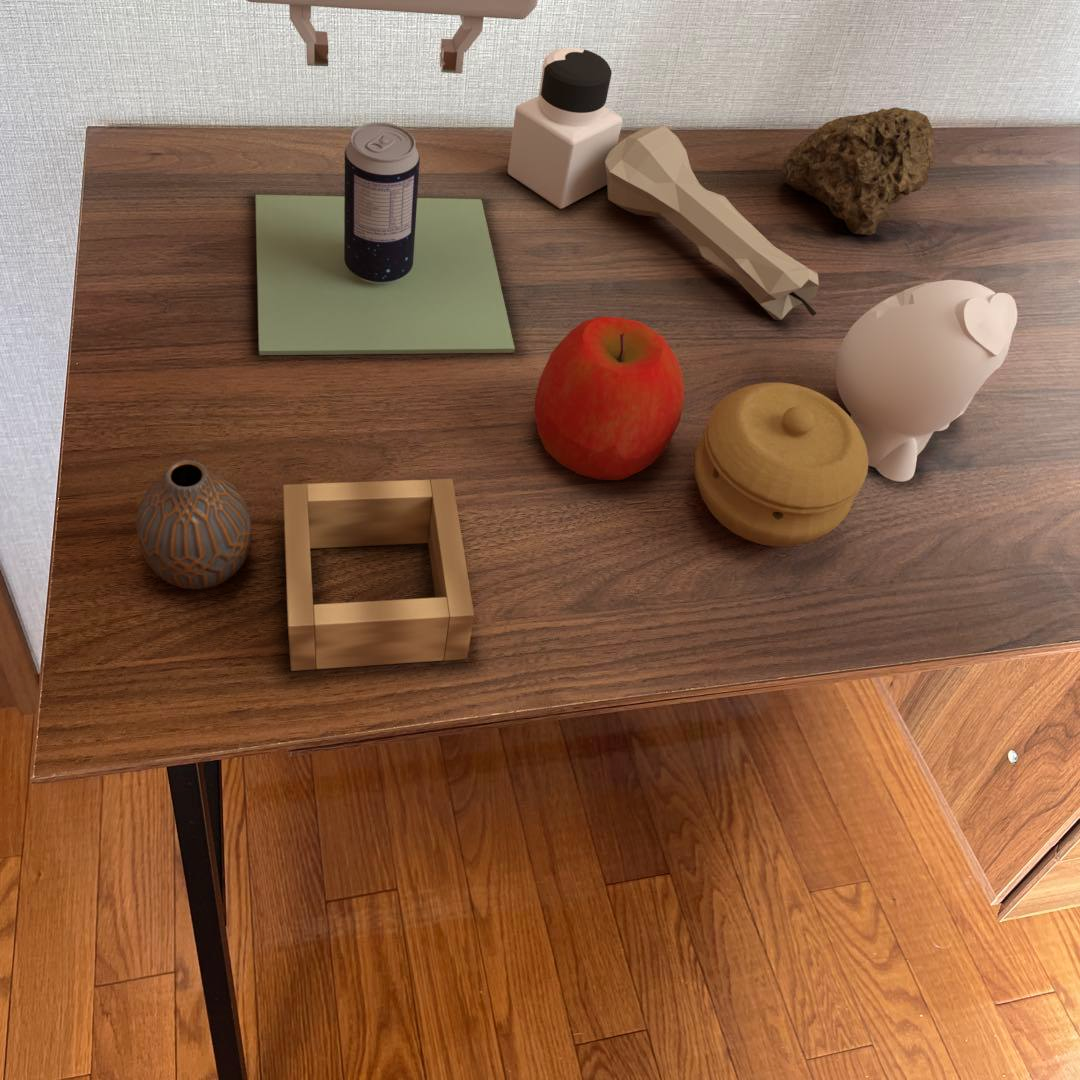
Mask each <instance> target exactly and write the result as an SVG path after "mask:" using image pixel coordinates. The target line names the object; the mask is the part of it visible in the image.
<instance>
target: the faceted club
mask: <svg viewBox="0 0 1080 1080" xmlns="http://www.w3.org/2000/svg"><path fill="white" fill-rule="evenodd" d="M605 166H606V172H607V184H608V185H607V200H608V201H609V202H611V203H613V204H614V205H616V206H617V207H619V208H621V209H622V210H625V211H627V212H629V213H631V214H634V215H636V216H647V217H658V218H664V219H665V220H667V221H668V222H669V223H670V224H671V225H672V226H674V227H675V228H676V229H677V230H678V231H680V232H681V233H682V234H683V235H684V236H685V237H686V238H688V239H689V240H690V241H691V242H692V243H693V244H695V245H696V246H697V248H698V251H699V253H700V255H701V257H702V258H704V259H705V260H707V262H710V263H711V264H712V265H714V266H715V267H717V268H719V269H720V270H721V271H723V272H725V273H726V274H727V275H729V276H731V277H732V278H733V279H735V280H736V281H737V282H738V283H739V284H740V286H742V287H743V288H744V289H745V291H747V292H748V293H749V295H751V297H752V298H753V299H754V300H755V301H756V302H757V303H758V304H759V305H760V306H761V307H762V309H764V310H765V311H766V313H767V314H768V315H769V316H770V317H771V318H772V319H773V320H777V321H778V320H779V321H780V320H783V319H784V318H785V316H786V315H788V314H789V312H790V311H791V310H793V308H795V307H797V306H799V305H801V304H803V306H804V307H805V308H806V310H807V311H808V312H809V314H810V315H811V316H812V317H814V316H815V315H817V312H816V311H815V309H814V308H813V307H811V306H810V304H808V303H807V302H808V301H810V300H812V299H815V298H816V296H817V293H818V290H819V286H820V283H819V274H818V272H816V271H815V270H812V269H810V268H808V267H807V266H805V265H804V264H802V263H800V261H798V260H796V259H795V258H793V257H791V256H790V255H788V254H787V253H785V252H784V251H783V250H780V249H779V248H777V247H776V246H775V245H773V244H772V243H771V242H770V240H768V239H767V237H765V236H764V235H763V234H762V233H761V232H760V231H759V230H758V229H757V228H756V227H754V225H753V224H752V223H751V222H750V221H748V220H747V219H746V218H745V217H744V216H743V215H742V214H741V213H740V212H739V211H738V210H737V209H736V208H735V207H734V205H733V204H732V203H731V202H730V201H729V200H728V199H727V197H726V196H725V195H722V194H719V193H716V192H713V191H710V190H708V189H706V188H705V187H704V186H703V185H701V184H700V182H699V180H698V179H697V177H696V175H695V174H694V173H695V172H694V171H693V170H692V167H691V164H690V160H689V156H688V152H687V149H686V148H685V147H684V145H683V143H682V142H681V140H680V138H679V137H678V136H677V135H676V134H675V133H674V132H673V131H671V130H670V129H669V128H668V127H667V126H666V125H664V124H662V125H655V126H649V127H643V128H641V129H639V130H637V131H636V132H634V133H632V134H630V135H628V136H626V137H625V138H623V139H622V140H621V141H619V142H618V144H617V145H616V146H615V147H614V148H613V149H612V150H611V151H610V152H609V154H608V156H607V158H606V161H605Z"/></svg>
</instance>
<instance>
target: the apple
mask: <svg viewBox="0 0 1080 1080" xmlns="http://www.w3.org/2000/svg"><path fill="white" fill-rule="evenodd" d="M685 396H686V391H685V384H684V377H683V372H682V369H681V366H680V364H679V361H678V358H677V357H676V355H675V353H674V351H673V349H672V348H671V346H670V345H669V343H668V341H667V339H665V337H663V336H662V335H661V334H659V333H658V332H656V331H655V330H653V329H652V328H651V327H649V326H648V325H647V324H646V323H644V322H642V321H638V320H633V319H630V318H625V317H616V316H615V317H614V316H598V317H594V318H591V319H587V320H583V321H582V322H580V323H579V324H578V325H576V326H575V327H574V328H572V329H571V330H570V331H569V332H568V333H567V334H566V335H565V337H563V339H562V340H561V341H560V342H559V343H558V344H557V345H556V346H555V348H554V349H553V350H552V352H551V353H550V355H549V357H548V359H547V361H546V364H545V366H544V368H543V371H542V373H541V374H540V378H539V380H538V384H537V388H536V392H535V396H534V406H533V413H534V417H535V422H536V426H537V427H536V428H537V432H538V436H539V438H540V440H541V443H542V445H543V448H544V450H545V451H546V452H547V453H548V454H549V455H550V456H551V457H552V458H553V459H554V460H555V461H556V462H557V463H559V464H561V465H562V466H564V467H565V468H567V469H568V470H570V471H572V472H574V473H575V474H577V475H581V476H584V477H589V478H591V479H596V480H599V481H600V480H601V481H622V480H623V479H627V478H629V477H630V476H633V475H636V474H637V473H641V472H642V471H644V470H645V469H646V468H648V467H649V466H650V465H652V464H653V463H655V461H656V460H657V459H658V458H659V457H660V456H661V454H662V453H663V452H664V451H665V450H666V449H667V447H668V445H669V444H670V442H671V440H672V438H673V436H674V434H675V432H676V430H677V428H678V426H679V424H680V422H681V418H682V412H683V406H684V401H685Z"/></svg>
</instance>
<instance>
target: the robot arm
mask: <svg viewBox="0 0 1080 1080" xmlns="http://www.w3.org/2000/svg"><path fill="white" fill-rule="evenodd" d="M246 2H249V3H258V4H272V5H273V4H274V5H288V9H289V20H290V21H291V23H292V25H293V26H294V28H295V29H296V31H297V33H298V34H299V36H300V37H301V39H302V41H303V42H304V44H305V55H306V66H307V67H308V66H309V67H329V38H328V31H322V30H321V31H320V30H316V29H315V27H314V26H313V24H312V22H311V19H312V7H321V8H335V9H353V10H366V11H367V10H368V11H369V10H370V11H385V12H398V13H414V14H415V13H416V14H430V15H445V16H458V17H459V18H460V23H461V24H460V26H459V27H458V29H457V30H456V32H455V33H454V34H453V36H452V38H441V39H440V46H439V48H440V52H439V60H438V61H439V68H440V72H441V73H445V74H462V73H463V70H464V69H463V68H464V57H465V53H467V52H468V50H469V49H470V48H471V46H472V45H473V44H474V42H475V41H476V40H477V38H478V37H479V36H480V35H481V33H482V32H483V27H484V18H491V19H493V18H495V19H508V20H509V19H510V20H525V19H526V18H527V17H528V16H529V15H530V14H531V13H532V12H533V11H534V10H535V9H536V7H537V6H538V3H539V0H246Z"/></svg>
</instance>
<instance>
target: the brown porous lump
mask: <svg viewBox="0 0 1080 1080" xmlns="http://www.w3.org/2000/svg"><path fill="white" fill-rule="evenodd" d="M934 134H935V133H934V129H933V127H932V125H931V122H930V120H929V118H928V116H927V115H926V114H924V113H921V112H920V111H919V110H911V109H908V108H901V107H891V108H889V109H886V108H880V109H879V110H878V111H874V110H873V111H871V112H868V113H863V114H855V115H846V116H840V117H838V118H835V119H833V120H831V121H827V122H825V123H824V124H823V125H822V126H820V127H819V128H817V130H816V131H815V132H813V133H812V134H810V135H809V136H807V138H805V139H803V140H802V141H800V143H799V144H798V145H797V146H795V147H793V148H792V149H791V150H790V152H789V153H788V155H787V156H786V157H785V158H784V160H783V162H782V164H781V167H782V169H781V173H782V174H783V176H784V179H785V183H786V184H787V185H789V186H790V187H792V188H793V189H794V190H796V191H797V192H798V191H800V192H805V193H806V194H807V195H808V196H811V197H812V198H815V199H817V200H818V201H819V202H821V203H822V204H824V205H826V206H828V208H829V210H830V212H831V214H832V215H833V216H834V217H836V219H838V220H839V219H840V220H843V221H844V222H845V224H846V227H847V230H848V231H850V232H851V233H852V234H854V235H863V236H872V235H874V234H875V233H876V230H877V226H878V223H882V221H884V220H885V219H886V218H888V215H889V212H890V210H891V206H892V204H896V203H899V202H900V201H902V200H903V199H904V198H905V196H909V194H911V193H914V192H917V191H919V190H921V189H922V188H923V187H924V186H925V184H927V182H928V180H929V175H928V174H927V173H928V171H930V169H931V168H932V167H933V166H934V164H935V160H934V157H933V154H932V148H933V147H934V145H935V140H934Z"/></svg>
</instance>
